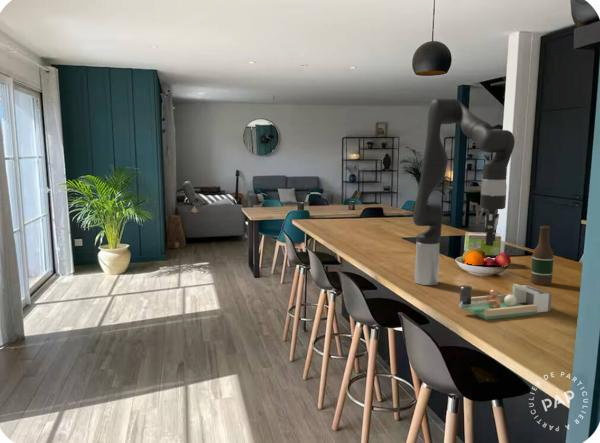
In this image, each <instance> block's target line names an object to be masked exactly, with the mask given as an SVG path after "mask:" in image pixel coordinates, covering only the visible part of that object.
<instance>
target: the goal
mask: <svg viewBox="0 0 600 443" xmlns="http://www.w3.org/2000/svg"><path fill="white" fill-rule="evenodd" d="M511 293H512V294H511V295H513V296H515V297H516V299H517V303H519V304H524V303H527V305H533V304H536V305H538V309H537V313H545V312H551V311H552V310H551V309H552V297H553V296H552V295H553V294H552V293H550V292H548V291H545V290H542V289H539V288H536V287H533V286H530V285H528V284H527V285H521V284H517V283H513V284H512V292H511Z"/></svg>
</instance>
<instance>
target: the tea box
mask: <svg viewBox="0 0 600 443" xmlns="http://www.w3.org/2000/svg"><path fill="white" fill-rule="evenodd" d="M464 236H465V237H464V247H463V253H464V252H465V251H467V250H468V249H471V248H479V249H482V250H483V251H484V252H485V255H486V257H490V258H495V257H496V256H498V255H499V254H500V255H501V246H502V245H501V244H502V236H501V235H499V233H497V232H496V234H495V241H494V242H493V246H487V245H486V232H472V231H471V232H469V231H465V234H464Z"/></svg>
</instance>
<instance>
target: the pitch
mask: <svg viewBox="0 0 600 443" xmlns="http://www.w3.org/2000/svg"><path fill="white" fill-rule="evenodd" d="M507 295H512V294H510V293H502V294H498V295H497V296H496V297H497V298H499V299H500V308H493V307H491V306H489V305H488V306H478V307H468V308H463V309H464V310H466V311H468V312H470V313H472V314H474V315H476V316H478V317H480V318H482V319H484V320H487V321H488V320H493V319H494V320H495V319H504V318H505V319H506V318H512V317H513V318H515V317H522V316H533V315H538V312H537V309H538V305H536V304H533V305H531V304H527V305H526V304H525V305H523V304H522V303H516V305H514V306H508V305H506V304H505V302H504V298H505V297H506V296H507ZM483 300H487V295H483V296H482V295H480V296H471V302H473V301H483Z"/></svg>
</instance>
